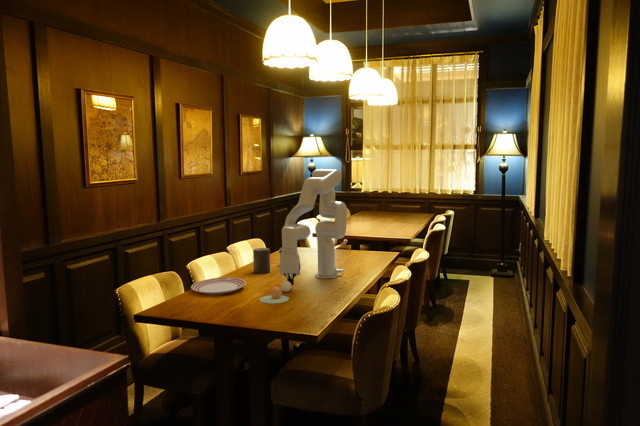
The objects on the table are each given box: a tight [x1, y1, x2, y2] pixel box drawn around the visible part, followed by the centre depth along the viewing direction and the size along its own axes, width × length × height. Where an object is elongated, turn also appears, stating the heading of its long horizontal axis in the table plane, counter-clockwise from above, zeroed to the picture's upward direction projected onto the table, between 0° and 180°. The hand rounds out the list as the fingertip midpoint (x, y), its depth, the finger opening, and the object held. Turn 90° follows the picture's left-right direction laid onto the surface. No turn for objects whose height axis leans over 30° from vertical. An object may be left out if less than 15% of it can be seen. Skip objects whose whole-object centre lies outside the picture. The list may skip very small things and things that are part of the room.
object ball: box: [269, 286, 283, 298], centre depth 241 cm, size 6×6×6 cm
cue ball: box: [280, 280, 293, 293], centre depth 252 cm, size 6×6×6 cm
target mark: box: [258, 294, 290, 305], centre depth 239 cm, size 14×14×1 cm
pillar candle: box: [252, 247, 271, 275], centre depth 295 cm, size 10×10×15 cm
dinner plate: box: [190, 277, 247, 295], centre depth 258 cm, size 28×27×3 cm
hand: (290, 285), depth 257 cm, fingers closed
